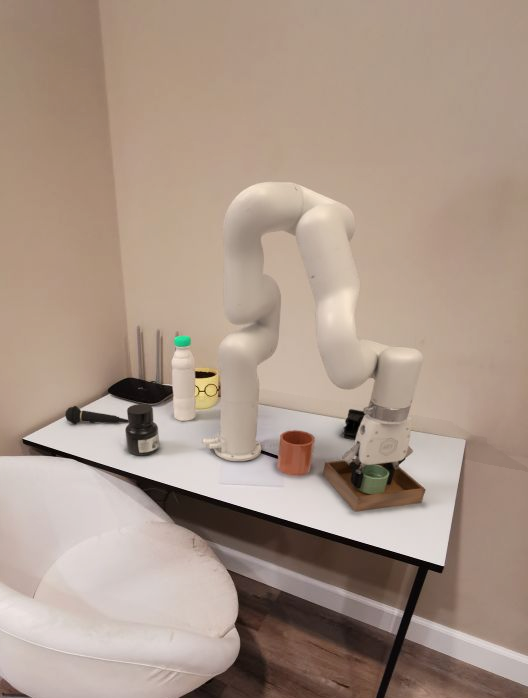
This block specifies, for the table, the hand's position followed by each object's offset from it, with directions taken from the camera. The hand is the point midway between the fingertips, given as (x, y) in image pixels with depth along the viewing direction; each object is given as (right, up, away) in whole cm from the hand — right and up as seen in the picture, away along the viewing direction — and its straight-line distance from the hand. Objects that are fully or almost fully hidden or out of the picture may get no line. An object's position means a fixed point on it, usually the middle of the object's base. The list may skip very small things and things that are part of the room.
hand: (370, 482), depth 98 cm
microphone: (-69, +18, +38) cm, 81 cm away
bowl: (0, -1, +1) cm, 1 cm away
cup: (-15, +4, +10) cm, 18 cm away
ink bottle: (-53, +9, +23) cm, 58 cm away
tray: (0, -1, +1) cm, 2 cm away
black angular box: (+8, +13, +23) cm, 27 cm away
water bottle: (-41, +20, +39) cm, 60 cm away
